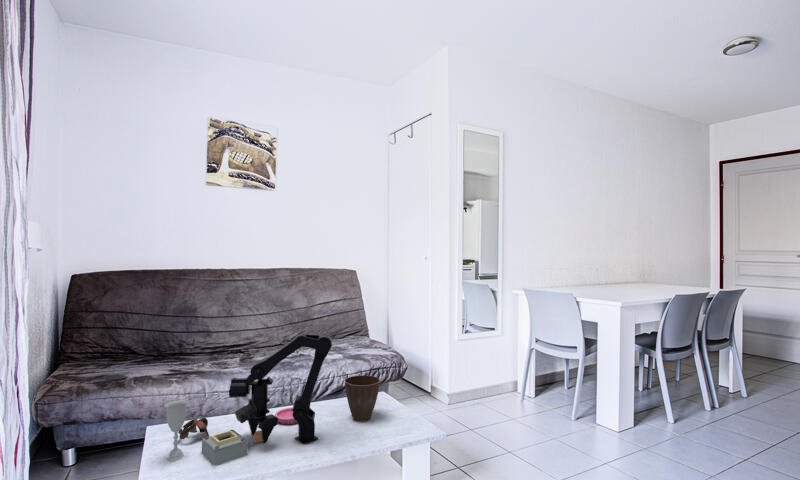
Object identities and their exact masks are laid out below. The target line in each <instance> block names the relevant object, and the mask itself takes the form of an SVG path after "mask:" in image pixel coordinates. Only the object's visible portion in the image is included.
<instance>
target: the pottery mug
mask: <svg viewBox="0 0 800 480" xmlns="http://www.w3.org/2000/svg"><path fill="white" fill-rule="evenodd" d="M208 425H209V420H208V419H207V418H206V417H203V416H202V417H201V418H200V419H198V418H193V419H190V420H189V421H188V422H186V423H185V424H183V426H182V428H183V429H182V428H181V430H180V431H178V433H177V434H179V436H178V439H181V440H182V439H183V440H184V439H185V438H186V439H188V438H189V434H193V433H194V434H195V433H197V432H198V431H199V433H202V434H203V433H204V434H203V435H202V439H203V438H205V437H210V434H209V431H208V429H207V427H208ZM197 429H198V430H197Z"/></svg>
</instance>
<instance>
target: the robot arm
mask: <svg viewBox="0 0 800 480" xmlns="http://www.w3.org/2000/svg"><path fill="white" fill-rule="evenodd" d="M332 345H333V338H332V337H331V336H330V335H329V334H327V333H322V334H320V335H319V334H305V333H300V334H298V335H297V336H296V337H295V338H293V339H292V340H291V341H289V342H288V343H286V344H285V345H284V346H283V347H281V348H280V349H278V350H276V351H275V352H274V353H273V354H270V355H269V356H266V357H264V358H262V359H259V360H258V361H256V362H255V363H254V364H253V366H252V367H251V368H250V373H249V374H248V375H247V377H245V378H237V377H233V378H231V379H230V385H229V389H228V396H229V398H231V399H236V398H247V396H248V395H250V394H251V396H250V397H251V398H250V399H248V401H247V402H248V404H246V405H244V406H242V407H240V408H238V409H237V410H236V411H234V415H235V418H236V420H237V421H238V422H240V423H241V424H244V423H246V421H247V423H248V425H249V430H250V433H251V436H252V437H253V435H254V433H255V432H257V431H258V429H259V430H260V431H262V440H263V441H262V444H267V442H268V440H269V438H270V436H271V434H272V431H273V430H274V428H275V427H276V426H277V425H279V421H278V418H277V417H276V416H275V414H272V413H271V412H270V409H269V408H268V403H269V402H271V399H270V398H269V397H268V394H269V393H268V391H269V390H268V389H269V388H268V387H269V386H271V385H273V383H274V379H272V378H271V377H270V376H267V375H268V374H270V372H271V371H273V369H274V368H275V367H276V366H277V365H278V364H279V363H281V362H282V361H283V360H285V359H286V358H287V357H289V356H290V355H292V354H293V353H294V352H296V351H297V350H299V349H300V348H301V347H306V348H309V349H311V350H312V349H314V350H315V351H314V357H313V360H312V364H311V367H310V369H309V372H308V375H307V378H306V381H305V384H304V387H303V389H302V392H301V394H300V395H298V394H296V396H295V398H294V399H295V400H294V403H293V405H292V407H291V408H292V411H293V418H294V419H295V420H296V421H297V422H298V423H297V424H298V430H297V431H298V436H295V437H294V440H296V441H298V442H299V443H301V444H302V445H306V444H307V443H311V442H315V441H317V440H319V437H318V436H316V435H315V434H316V433H315V432H316V431H315V430H316V423H315V417H316V412H315V411H314V410H313V409H312V408H311V401H312V396H313V393H314V390H315V387H316V385H317V384H316V383H317V382H318V381H317V380H318V378H319V375H320V371H321V369H322V366H323V363H324V361H325V360H326V358H327V356H328V355H329V353H330V351H331V349H332ZM265 377H267V378H265ZM270 413H271V414H270Z"/></svg>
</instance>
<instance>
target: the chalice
mask: <svg viewBox="0 0 800 480" xmlns="http://www.w3.org/2000/svg"><path fill="white" fill-rule="evenodd" d="M188 403H189V402H188V401H187V400H184V399H183V400H182V399H179V400H174V401H170V402H167V403H166V404H165V405H164V407H165V408H166V422H167V426H168V427H169V429H170V431H171V432H173V433H174V434H173V435H174V436H173V437H172V438H173V440H174V441H173V442H172V444H173V449H171V451H170V452H169V454H168V457H167V458H166V459H167V461H170V462H174V461H175V462H176V461H179V460H181V459H182V458H184V457H185V454H183V451H182V449H181V448H178V444H179V443H180V442H179V441H178V439H179V435H178V434H179V433H178V432H179V431H180V430H181V428H183V426H184V423H185V421H186V418H187V405H188Z"/></svg>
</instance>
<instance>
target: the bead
mask: <svg viewBox="0 0 800 480" xmlns="http://www.w3.org/2000/svg"><path fill="white" fill-rule="evenodd" d="M252 439H253V440H254V442H255V443H261V442H263V440H262V431H261V430H256V432H255V433H254V435H253V436H252Z"/></svg>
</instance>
